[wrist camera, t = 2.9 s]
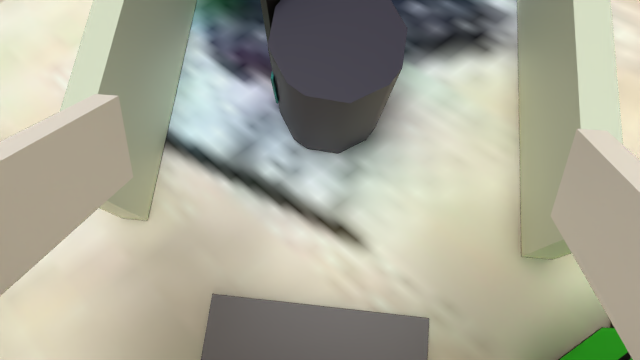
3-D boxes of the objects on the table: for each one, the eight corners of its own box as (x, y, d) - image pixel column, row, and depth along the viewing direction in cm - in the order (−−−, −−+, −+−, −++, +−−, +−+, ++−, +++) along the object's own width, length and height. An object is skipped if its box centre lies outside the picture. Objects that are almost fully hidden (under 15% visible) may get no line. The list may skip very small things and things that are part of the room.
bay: (552, 259, 23) (630, 233, 16) (121, 218, 26) (38, 181, 19) (541, -53, 29) (596, -166, 22) (188, -61, 31) (143, -165, 25)
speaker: (253, 66, 28) (216, -63, 18) (339, 30, 28) (352, -114, 18) (305, 177, 26) (298, 106, 16) (395, 137, 27) (444, 44, 17)
